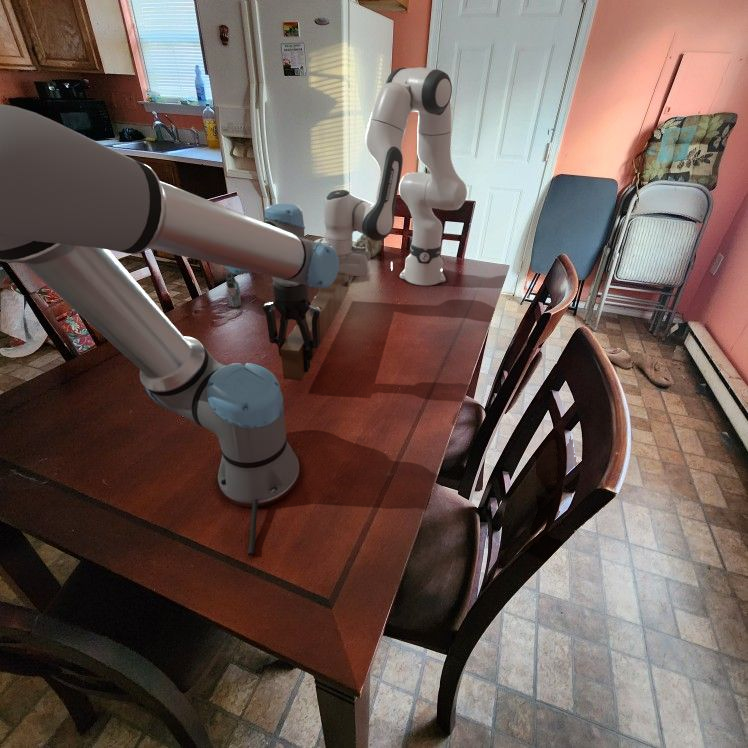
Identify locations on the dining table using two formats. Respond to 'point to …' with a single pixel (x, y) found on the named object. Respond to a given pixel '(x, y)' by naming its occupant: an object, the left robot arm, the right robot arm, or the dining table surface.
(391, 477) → the dining table surface
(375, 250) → the lumpy boulder
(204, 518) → the dining table surface
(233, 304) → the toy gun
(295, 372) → the bar
